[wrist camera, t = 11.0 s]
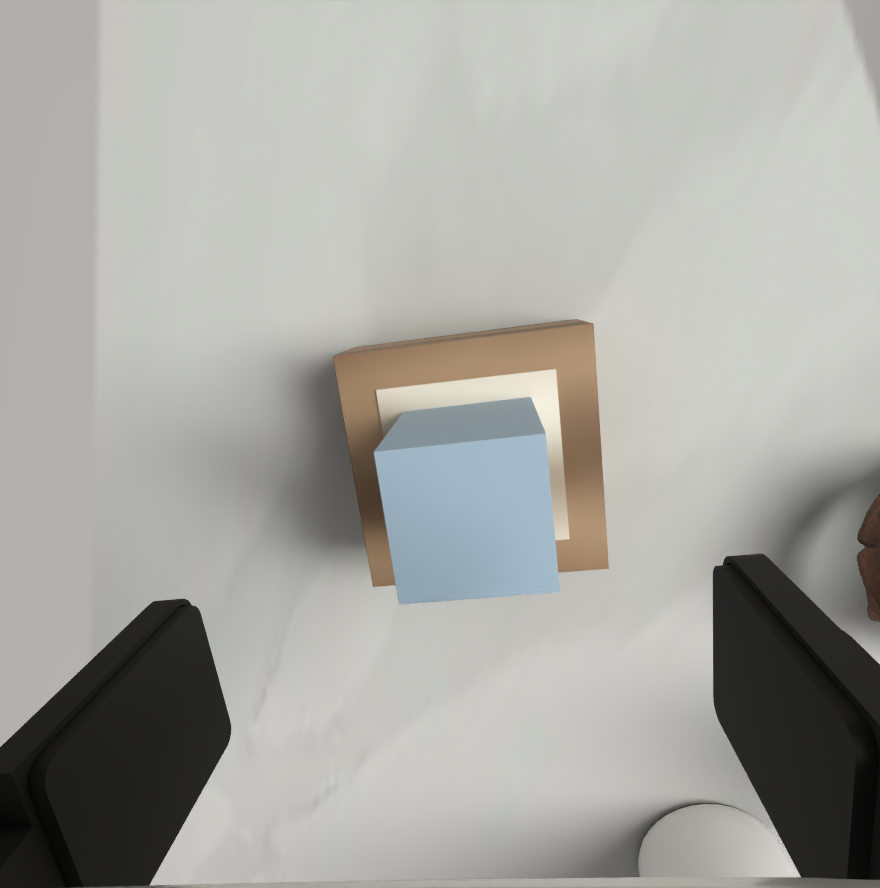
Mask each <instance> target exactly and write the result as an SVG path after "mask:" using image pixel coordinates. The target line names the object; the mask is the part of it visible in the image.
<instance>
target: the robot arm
mask: <svg viewBox="0 0 880 888" xmlns="http://www.w3.org/2000/svg"><path fill="white" fill-rule="evenodd" d="M713 697H714V706H715V710H716V714H717V717H718V720H719V722H720V724H721V726H722V728H723V730H724V732H725V733H726V735H727V737H728V739H729V741H730V743H731V745H732V747H733V749H734V751H735V752H736V754H737V756H738V758H739V760H740V762H741V764H742V766H743V768H744V770H745V771H746V773H747V775H748V777H749V779H750V781H751V783H752V785H753V787H754V788H755V790H756V792H757V794H758V796H759V798H760V800H761V802H762V804H763V806H764V807H765V809H766V811H767V813H768V815H769V817H770V819H771V821H772V823H773V825H774V826H775V828H776V830H777V832H778V834H779V836H780V838H781V840H782V842H783V843H784V845H785V847H786V849H787V851H788V853H789V855H790V857H791V859H792V861H793V862H794V864H795V866H796V868H797V870H798V872H799V874H800V876H801V877H618V878H531V879H453V880H394V881H337V882H285V883H236V884H196V885H156V886H149V885H150V883H151V881H152V879H153V878H154V876H155V874H156V872H157V870H158V869H159V867H160V865H161V863H162V862H163V860H164V858H165V856H166V854H167V853H168V851H169V849H170V847H171V845H172V844H173V842H174V840H175V838H176V837H177V835H178V833H179V831H180V829H181V828H182V826H183V824H184V822H185V820H186V819H187V817H188V815H189V813H190V812H191V810H192V808H193V806H194V804H195V803H196V801H197V799H198V797H199V795H200V794H201V792H202V790H203V788H204V786H205V785H206V783H207V781H208V779H209V778H210V776H211V774H212V772H213V770H214V769H215V767H216V765H217V763H218V761H219V760H220V758H221V756H222V754H223V753H224V751H225V749H226V747H227V745H228V743H229V740H230V735H231V723H230V719H229V715H228V711H227V708H226V704H225V700H224V697H223V693H222V689H221V686H220V682H219V679H218V675H217V671H216V668H215V664H214V660H213V657H212V653H211V649H210V646H209V642H208V639H207V635H206V631H205V628H204V624H203V620H202V617H201V613H200V611H199V609H198V608H197V607H196V606H192V605H191V603H190V602H189V601H188V600H186V599H176V600H163V601H154V602H152V603H151V604H150V605H148V606H147V607H146V608H145V609H144V610H143V611H142V612H141V613H140V614H139V615H138V616H137V617H136V618H135V619H134V620H133V621H132V622H131V623H130V624H129V625H128V626H127V627H125V628H124V629H123V630H122V631H121V632H120V633H119V634H118V635H117V636H116V637H115V638H114V639H113V640H112V641H111V642H110V643H109V644H108V645H107V646H106V647H105V648H104V649H103V650H101V651H100V652H99V653H98V654H97V655H96V656H95V657H94V658H93V659H92V660H91V661H90V662H89V663H88V664H87V665H86V666H85V667H84V668H83V669H82V670H81V671H80V672H78V673H77V675H75V676H74V677H73V678H72V679H71V680H70V681H69V682H68V683H67V684H66V685H65V686H64V687H63V688H62V689H61V690H60V691H59V692H58V693H57V694H56V695H54V696H53V697H52V698H51V699H50V700H49V701H48V702H47V703H46V704H45V705H44V706H43V707H42V708H41V709H40V710H39V711H38V712H37V713H36V714H35V715H34V716H32V717H31V718H30V719H29V720H28V721H27V722H26V723H25V724H24V725H23V726H22V727H21V728H20V729H19V730H18V731H17V732H16V733H15V734H14V735H13V736H12V737H11V738H9V739H8V740H7V741H6V742H5V743H4V744H3V745H2V746H1V747H0V888H880V664H879V663H878V662H877V661H875V660H874V659H873V658H872V657H871V656H870V655H869V654H868V653H867V652H866V651H865V650H864V649H863V648H862V647H861V646H860V645H859V644H858V643H857V642H856V641H855V640H854V639H853V638H852V637H851V636H849V635H848V634H847V633H845V632H844V631H842V630H841V629H840V628H839V627H838V626H837V625H836V624H835V623H834V622H833V621H832V620H831V619H830V618H829V617H828V616H826V615H825V614H824V613H823V612H822V611H821V610H820V609H819V608H818V607H817V606H816V605H815V604H814V603H813V602H812V601H811V600H810V599H809V598H808V597H807V596H806V595H805V594H804V593H803V592H802V591H801V590H800V589H799V588H798V587H797V586H796V585H795V584H794V583H793V582H792V581H791V580H790V579H789V578H788V577H787V576H786V575H785V574H784V573H783V572H782V571H781V570H780V569H779V568H778V567H777V566H776V565H775V564H774V563H773V562H772V561H771V560H770V559H769V558H768V557H767V556H765V555H764V554H753V555H740V556H727V557H726V558H725V559H724V562H723V565H722V566H715V567H714V570H713Z"/></svg>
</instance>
